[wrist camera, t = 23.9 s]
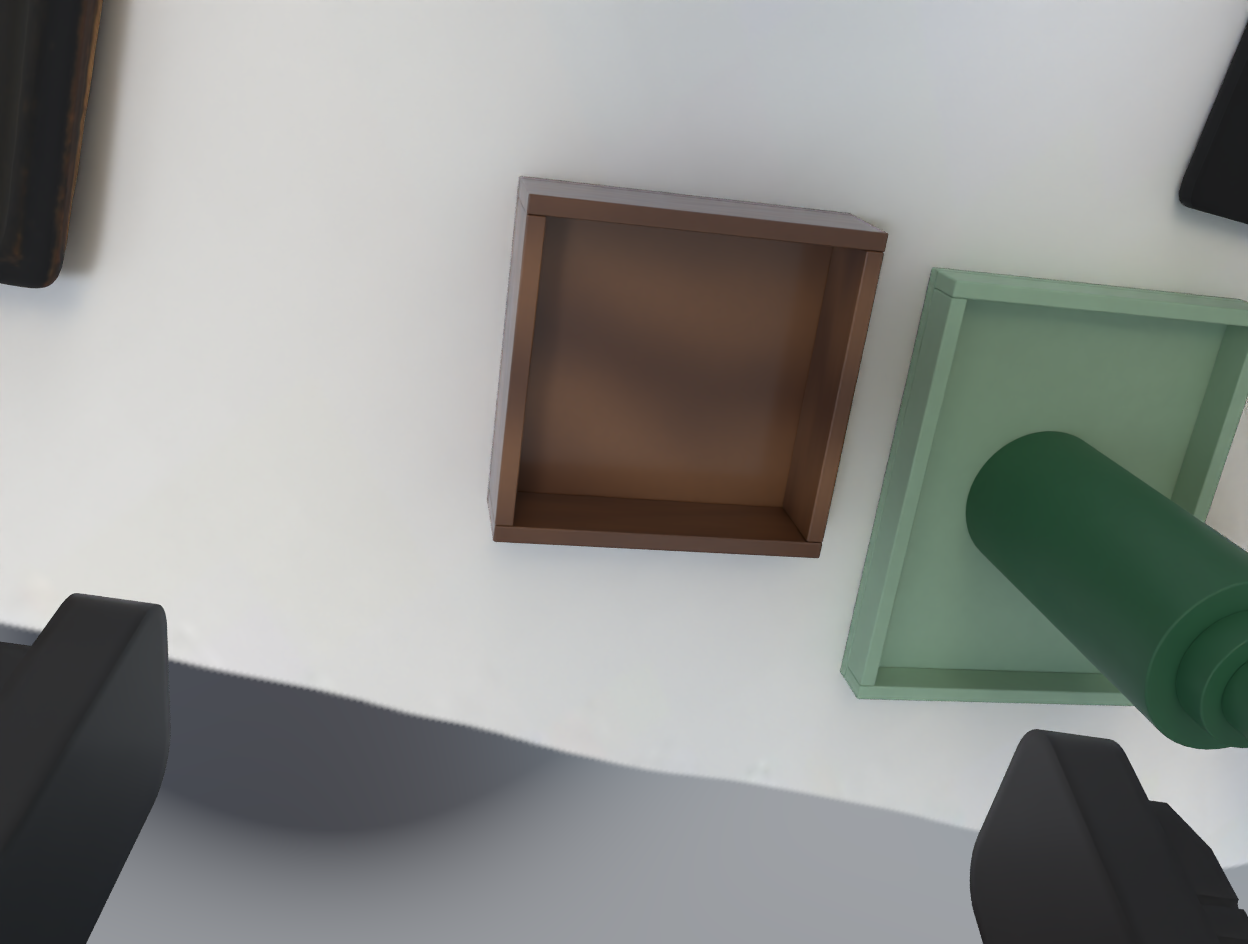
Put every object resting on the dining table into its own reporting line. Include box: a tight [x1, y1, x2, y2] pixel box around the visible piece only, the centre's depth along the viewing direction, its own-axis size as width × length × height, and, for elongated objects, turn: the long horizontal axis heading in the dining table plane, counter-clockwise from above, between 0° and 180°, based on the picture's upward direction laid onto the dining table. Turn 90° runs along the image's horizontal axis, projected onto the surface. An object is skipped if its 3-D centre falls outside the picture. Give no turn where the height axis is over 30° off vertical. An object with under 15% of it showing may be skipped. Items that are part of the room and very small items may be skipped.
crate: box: [487, 176, 888, 558], centre depth 39 cm, size 11×11×4 cm
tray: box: [840, 267, 1248, 706], centre depth 44 cm, size 16×12×2 cm
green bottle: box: [966, 431, 1248, 749], centre depth 37 cm, size 6×6×17 cm
